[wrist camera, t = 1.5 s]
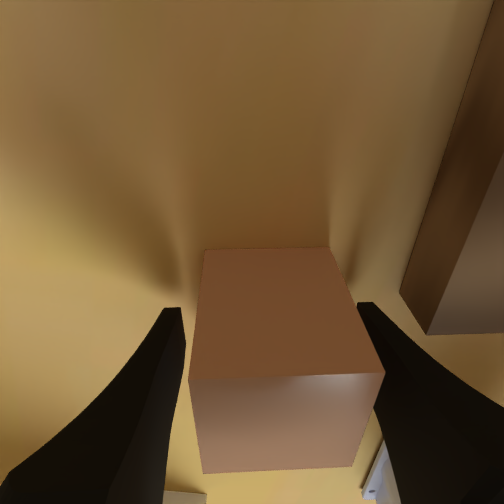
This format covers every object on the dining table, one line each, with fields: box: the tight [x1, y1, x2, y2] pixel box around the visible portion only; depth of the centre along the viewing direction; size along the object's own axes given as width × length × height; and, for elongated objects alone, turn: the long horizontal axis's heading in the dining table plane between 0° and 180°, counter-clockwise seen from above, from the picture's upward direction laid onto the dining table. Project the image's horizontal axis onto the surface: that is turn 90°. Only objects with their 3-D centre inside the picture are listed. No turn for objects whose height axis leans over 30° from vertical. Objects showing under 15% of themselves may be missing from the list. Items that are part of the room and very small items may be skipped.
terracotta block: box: [188, 247, 385, 474], centre depth 12 cm, size 5×5×6 cm
